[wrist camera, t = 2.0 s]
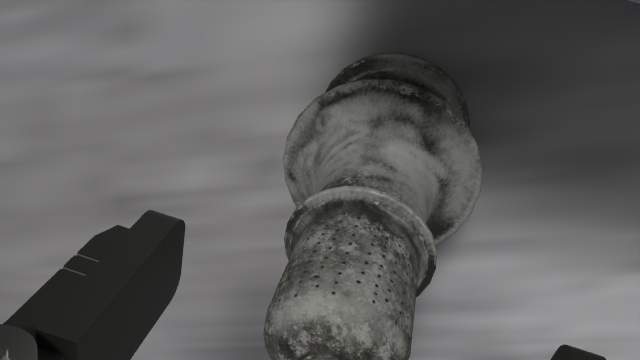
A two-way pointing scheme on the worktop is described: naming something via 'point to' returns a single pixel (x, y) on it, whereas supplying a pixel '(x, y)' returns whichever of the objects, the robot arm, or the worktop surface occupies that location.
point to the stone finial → (370, 208)
